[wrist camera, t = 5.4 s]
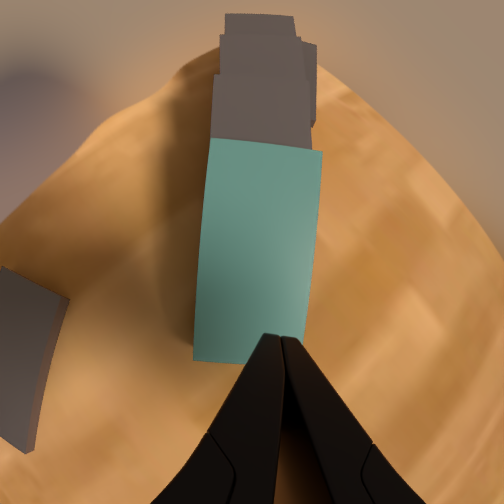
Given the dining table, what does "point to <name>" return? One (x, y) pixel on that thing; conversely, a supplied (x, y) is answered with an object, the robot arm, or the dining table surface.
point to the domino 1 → (25, 354)
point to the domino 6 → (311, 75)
